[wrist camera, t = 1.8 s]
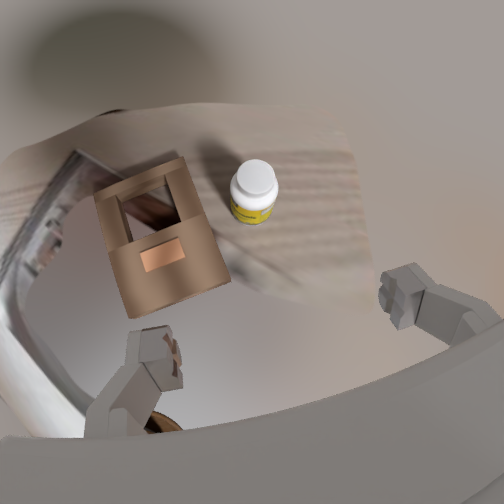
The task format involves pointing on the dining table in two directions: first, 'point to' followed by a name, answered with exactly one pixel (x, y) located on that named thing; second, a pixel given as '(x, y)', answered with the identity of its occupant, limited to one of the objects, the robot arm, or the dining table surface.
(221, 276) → the block
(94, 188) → the dining table surface
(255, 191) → the supplement bottle
